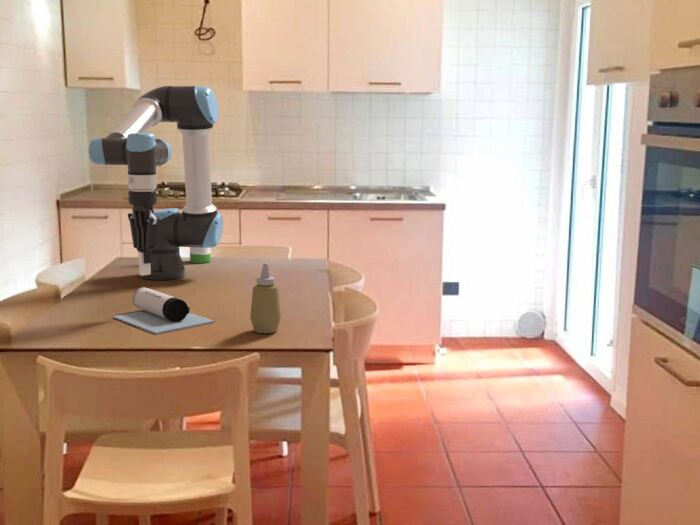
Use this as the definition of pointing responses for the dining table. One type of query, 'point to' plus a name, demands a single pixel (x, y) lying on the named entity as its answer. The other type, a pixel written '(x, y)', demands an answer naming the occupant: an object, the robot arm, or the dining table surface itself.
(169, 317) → the travel mug
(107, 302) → the dining table surface
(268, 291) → the squeeze bottle
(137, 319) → the mat
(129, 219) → the robot arm
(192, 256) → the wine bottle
